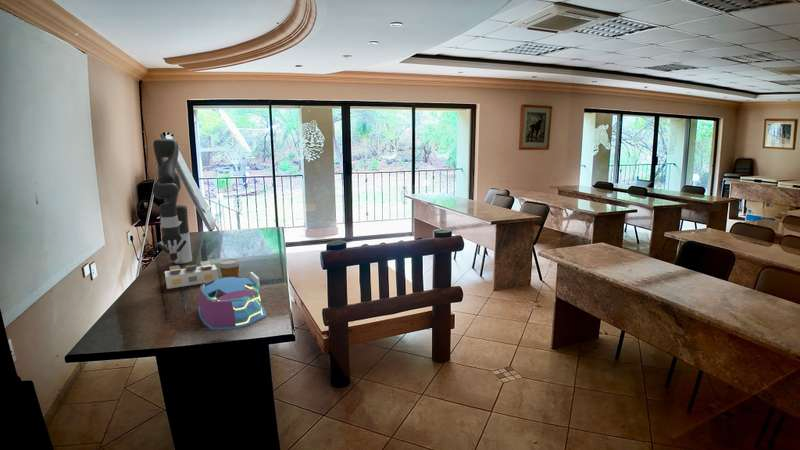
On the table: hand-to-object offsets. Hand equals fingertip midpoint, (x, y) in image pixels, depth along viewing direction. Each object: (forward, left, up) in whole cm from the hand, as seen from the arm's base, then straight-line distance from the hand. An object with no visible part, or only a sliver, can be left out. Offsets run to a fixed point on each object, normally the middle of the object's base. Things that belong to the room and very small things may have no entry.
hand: (174, 260), depth 210 cm
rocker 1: (-3, 0, -5) cm, 6 cm away
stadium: (+48, +17, -13) cm, 53 cm away
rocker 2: (-3, +7, -5) cm, 9 cm away
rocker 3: (-3, +14, -5) cm, 15 cm away
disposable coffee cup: (+12, +23, -13) cm, 29 cm away
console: (-3, +7, -13) cm, 15 cm away
